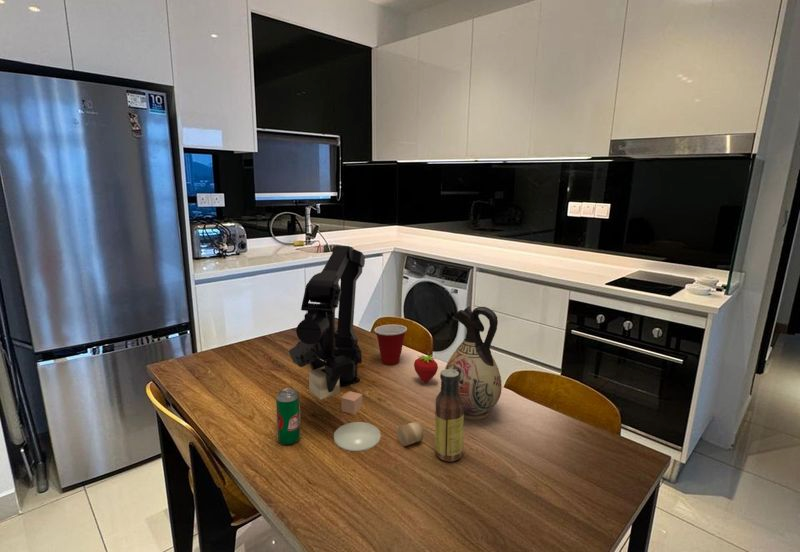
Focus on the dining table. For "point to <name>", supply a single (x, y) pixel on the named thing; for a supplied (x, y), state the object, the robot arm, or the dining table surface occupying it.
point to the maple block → (320, 384)
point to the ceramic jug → (476, 364)
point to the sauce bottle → (449, 418)
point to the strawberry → (425, 367)
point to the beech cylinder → (410, 433)
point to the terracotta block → (351, 402)
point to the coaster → (357, 436)
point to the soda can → (288, 416)
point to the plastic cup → (390, 342)
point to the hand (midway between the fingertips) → (324, 387)
